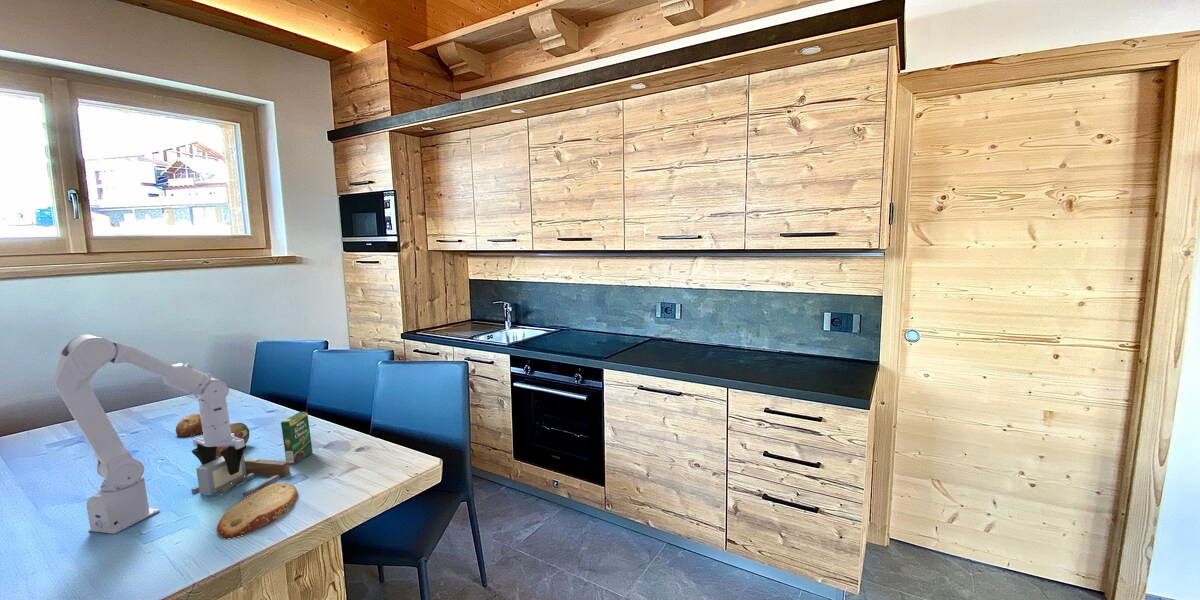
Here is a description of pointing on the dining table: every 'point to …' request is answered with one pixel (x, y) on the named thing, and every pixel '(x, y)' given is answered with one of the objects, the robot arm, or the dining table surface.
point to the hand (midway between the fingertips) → (222, 472)
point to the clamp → (260, 468)
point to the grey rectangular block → (217, 475)
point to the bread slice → (257, 510)
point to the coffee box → (296, 437)
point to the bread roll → (189, 425)
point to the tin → (239, 431)
